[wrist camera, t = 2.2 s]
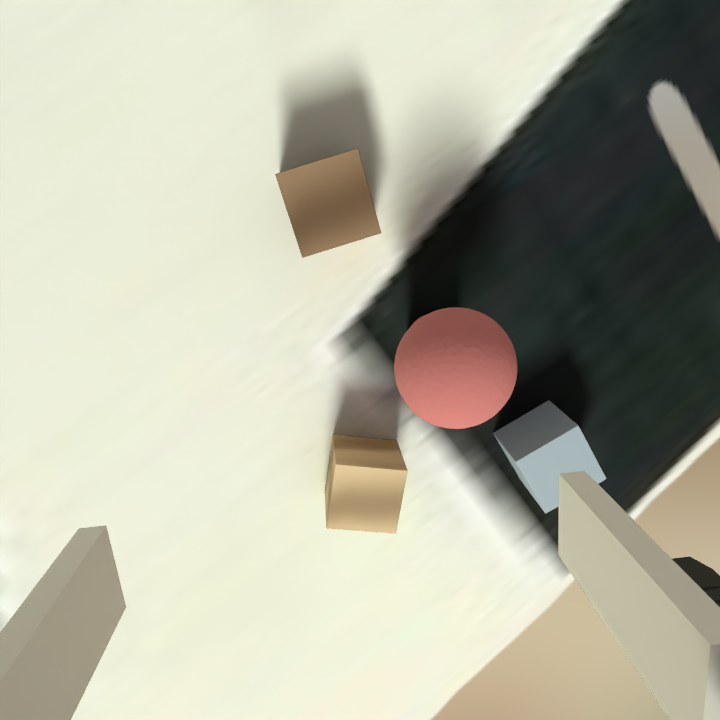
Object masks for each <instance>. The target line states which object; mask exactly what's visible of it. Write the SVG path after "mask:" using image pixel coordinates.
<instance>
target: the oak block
mask: <svg viewBox="0 0 720 720" xmlns="http://www.w3.org/2000/svg"><path fill="white" fill-rule="evenodd" d="M406 476H407V468H406V465H405V462H404V460H403V457H402V454H401V451H400V448H399V445H398V443H397V440H387V439H376V438H366V437H355V436H345V435H334V434H333V437H332V444H331V451H330V458H329V465H328V472H327V479H326V486H325V509H326V528H330V529H343V530H356V531H370V532H383V533H396V530H397V525H398V519H399V514H400V509H401V503H402V498H403V492H404V487H405V482H406Z"/></svg>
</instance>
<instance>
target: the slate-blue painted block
mask: <svg viewBox="0 0 720 720" xmlns="http://www.w3.org/2000/svg"><path fill="white" fill-rule="evenodd" d="M493 434H494V435H495V437H496V439H497V440H498V442H499V444H500V446H501V447H502V449H503V451H504V452H505V454H506V456H507V457H508V459H509V461H510V463H511V464H512V466H513V468H514V469H515V471H516V473H517V475H518V476H519V478H520V480H521V481H522V482H523V484H524V485H525V486H526V488H527V489H528V491H529V492H530V493H531V495H532V496H533V497H534V499H535V500H536V501H537V503H538V504H539V505H540V507H541V508H542V509H543V511H544V512H545V513H547V512H549V511H551V510H553V509H554V508H556V507H558V506H559V474H560V473H569V472H578V471H585V472H586V473H587V474H588V475H589V476H590V477H591V478H592V479H593V480H594V481H595V482H596V483H597V484H598V483H600V482H602V481H603V480H605V479H606V477H605V475H604V473H603V472H602V470H601V468H600V466H599V464H598V462H597V460H596V458H595V456H594V454H593V453H592V451H591V449H590V447H589V445H588V443H587V441H586V439H585V437H584V435H583V433H582V432H581V430H580V428H579V426H578V425H577V424H576V423H575V422H574V421H572V420H571V419H570V418H569V417H568V416H567V415H566V414H564V413H563V412H562V411H561V410H560V409H559V408H557V407H556V406H555V405H554V404H553V403H552V402H550V401H549V400H548V401H547V402H545V403H543V404H542V405H540V406H538V407H536V408H535V409H533V410H531V411H530V412H528V413H526V414H525V415H523V416H521V417H519V418H518V419H516V420H514V421H513V422H511V423H509V424H508V425H506V426H504V427H502V428H501V429H499V430H497V431H496V432H494V433H493Z"/></svg>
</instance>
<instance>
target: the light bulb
mask: <svg viewBox="0 0 720 720" xmlns="http://www.w3.org/2000/svg"><path fill="white" fill-rule="evenodd" d="M394 373H395V380H396V384H397V387H398V390H399V392H400V394H401V396H402V398H403V400H404V401H405V403H406V404H407V406H408V407H409V408H410V409H411V410H412V411H413V412H414V413H415V414H416V415H418V416H419V417H420V418H422V419H423V420H425V421H427V422H429V423H431V424H434V425H436V426H440V427H444V428H452V429H461V428H468V427H472V426H476V425H478V424H481V423H483V422H485V421H487V420H488V419H490V418H492V417H493V416H494V415H495V414H497V413H498V412H499V411H500V410H501V409H502V407H503V406H504V405H505V404H506V402H507V401H508V399H509V398H510V396H511V394H512V391H513V389H514V386H515V382H516V378H517V359H516V354H515V350H514V347H513V345H512V342H511V341H510V339H509V337H508V336H507V334H506V332H505V331H504V330H503V329H502V328H501V327H500V326H499V325H498V324H497V323H496V322H495V321H494V320H492V319H491V318H490V317H488V316H486V315H484V314H483V313H480V312H478V311H475V310H471V309H468V308H457V307H452V308H444V309H440V310H436V311H433V312H431V313H429V314H427V315H424V316H422V317H420V318H418V319H417V320H416V321H415V322H414V323H413V324H412V325H411V327H410V328H409V329H408V331H407V332H406V333H405V334H404V336H403V338H402V339H401V341H400V344H399V346H398V349H397V352H396V356H395V363H394Z"/></svg>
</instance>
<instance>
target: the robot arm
mask: <svg viewBox="0 0 720 720" xmlns="http://www.w3.org/2000/svg"><path fill="white" fill-rule="evenodd" d="M558 555H559V556H560V558H561V559H562V561H563V562H564V564H565V565H566V567H567V568H568V570H569V571H570V573H571V574H572V576H573V577H574V579H575V580H576V582H577V583H578V584H579V586H580V588H581V589H582V590H583V592H584V593H585V595H586V596H587V598H588V599H589V601H590V602H591V604H592V605H593V607H594V608H595V610H596V611H597V613H598V614H599V616H600V617H601V618H602V620H603V621H604V623H605V624H606V626H607V627H608V629H609V630H610V632H611V633H612V635H613V636H614V638H615V639H616V641H617V642H618V644H619V645H620V647H621V648H622V650H623V651H624V653H625V654H626V655H627V657H628V658H629V660H630V661H631V663H632V664H633V666H634V667H635V669H636V670H637V672H638V673H639V675H640V676H641V678H642V679H643V681H644V682H645V684H646V685H647V687H648V688H649V690H650V691H651V693H652V694H653V695H654V697H655V698H656V700H657V701H658V703H659V704H660V706H661V707H662V709H663V710H664V712H665V713H666V715H667V716H668V718H669V719H670V720H720V576H719V575H718V574H717V573H716V572H715V571H714V570H713V569H711V568H709V567H708V566H706V565H704V564H702V563H700V562H698V561H697V560H695V559H693V558H691V557H684V558H675V559H671V558H670V557H669V556H668V555H667V554H666V553H665V552H664V551H663V550H662V549H661V547H660V546H659V545H657V543H656V542H655V541H654V540H653V539H652V538H651V537H650V536H649V535H648V534H647V533H646V532H645V531H644V530H643V529H642V528H641V527H640V526H639V525H638V524H637V523H636V522H635V521H634V520H633V519H632V518H631V517H630V516H629V515H628V514H627V513H626V512H625V511H624V510H623V509H622V508H621V507H620V506H619V505H618V504H617V503H616V502H615V501H614V500H613V499H612V498H611V497H610V496H609V495H608V494H607V493H606V492H605V491H604V490H603V489H602V488H601V487H600V486H599V485H598V484H597V483H596V482H595V481H594V480H593V479H592V478H591V477H590V476H589V475H588V474H587V473H586V472H585V471H578V472H569V473H560V474H559V551H558ZM125 608H126V605H125V601H124V597H123V593H122V589H121V585H120V581H119V576H118V572H117V568H116V564H115V560H114V556H113V552H112V548H111V544H110V540H109V535H108V531H107V527H106V526H98V527H90V528H81V529H78V530H77V532H76V533H75V534H74V536H73V537H72V538H71V540H70V541H69V542H68V544H67V545H66V546H65V548H64V549H63V550H62V552H61V553H60V554H59V556H58V557H57V558H56V560H55V561H54V562H53V564H52V565H51V566H50V568H49V569H48V570H47V572H46V573H45V574H44V575H43V577H42V578H41V579H40V581H39V582H38V583H37V585H36V586H35V587H34V589H33V590H32V591H31V593H30V594H29V595H28V597H27V598H26V599H25V601H24V602H23V603H22V605H21V606H20V607H19V609H18V610H17V611H16V613H15V614H14V615H13V617H12V618H11V619H10V621H9V622H8V623H7V625H6V626H5V627H4V628H3V630H2V631H1V632H0V720H71V718H72V716H73V714H74V712H75V710H76V708H77V706H78V704H79V702H80V700H81V698H82V696H83V694H84V692H85V689H86V687H87V685H88V683H89V681H90V679H91V677H92V675H93V673H94V671H95V669H96V667H97V665H98V663H99V661H100V659H101V657H102V655H103V653H104V651H105V649H106V647H107V645H108V643H109V640H110V638H111V636H112V634H113V632H114V630H115V628H116V626H117V624H118V622H119V620H120V618H121V616H122V614H123V612H124V610H125Z"/></svg>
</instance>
